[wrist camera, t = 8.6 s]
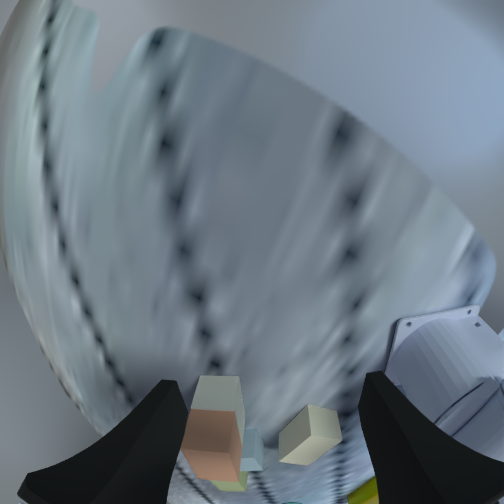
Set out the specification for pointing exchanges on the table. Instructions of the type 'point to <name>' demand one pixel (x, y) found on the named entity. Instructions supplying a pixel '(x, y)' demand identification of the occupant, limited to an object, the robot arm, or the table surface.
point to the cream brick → (309, 435)
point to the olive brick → (233, 483)
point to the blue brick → (252, 451)
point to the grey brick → (221, 397)
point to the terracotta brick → (213, 445)
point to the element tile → (365, 494)
